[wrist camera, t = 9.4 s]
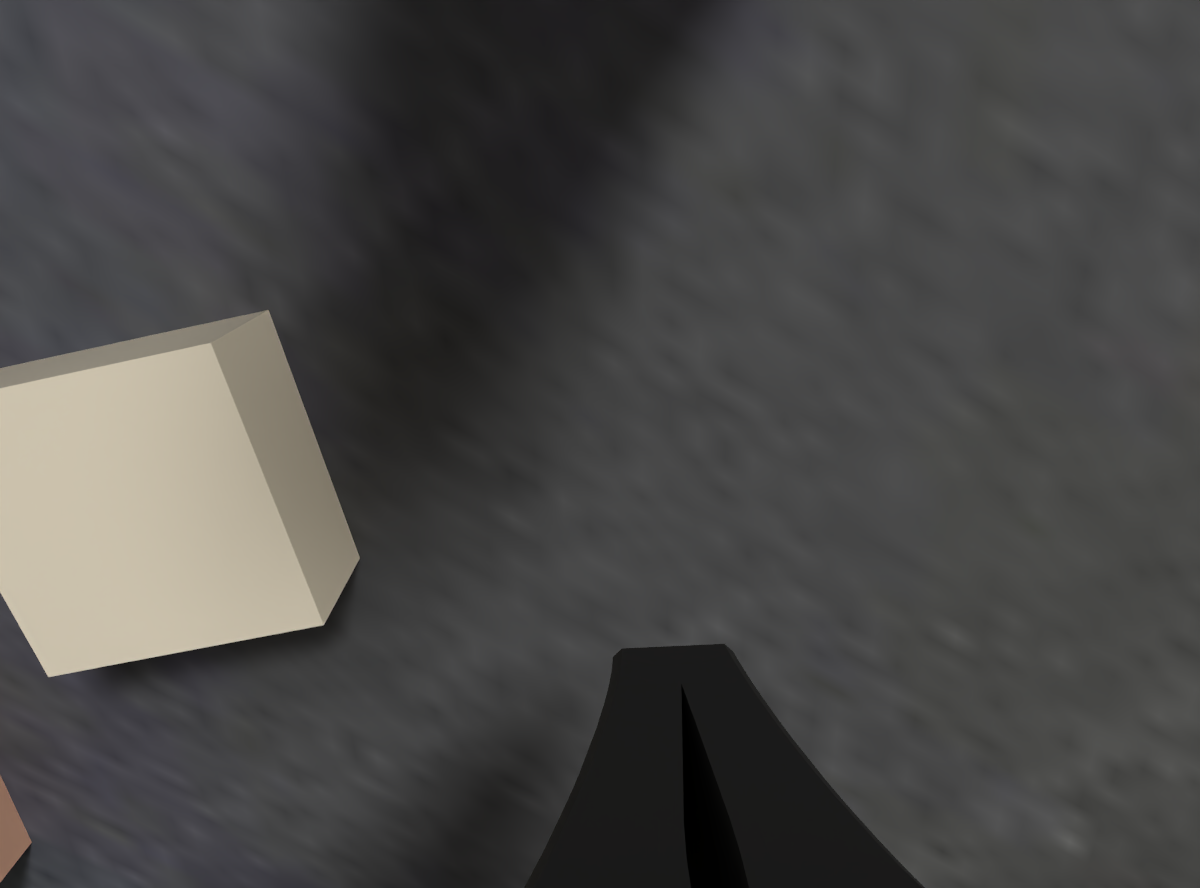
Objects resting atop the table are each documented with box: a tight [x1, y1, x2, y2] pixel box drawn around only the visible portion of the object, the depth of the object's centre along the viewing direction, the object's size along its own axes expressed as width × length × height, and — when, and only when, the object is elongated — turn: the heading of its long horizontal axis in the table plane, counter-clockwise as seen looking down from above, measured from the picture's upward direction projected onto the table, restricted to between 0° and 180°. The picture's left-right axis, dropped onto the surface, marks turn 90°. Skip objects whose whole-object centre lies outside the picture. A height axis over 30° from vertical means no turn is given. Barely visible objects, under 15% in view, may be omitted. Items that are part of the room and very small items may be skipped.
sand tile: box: [0, 310, 360, 677], centre depth 17 cm, size 6×6×3 cm
